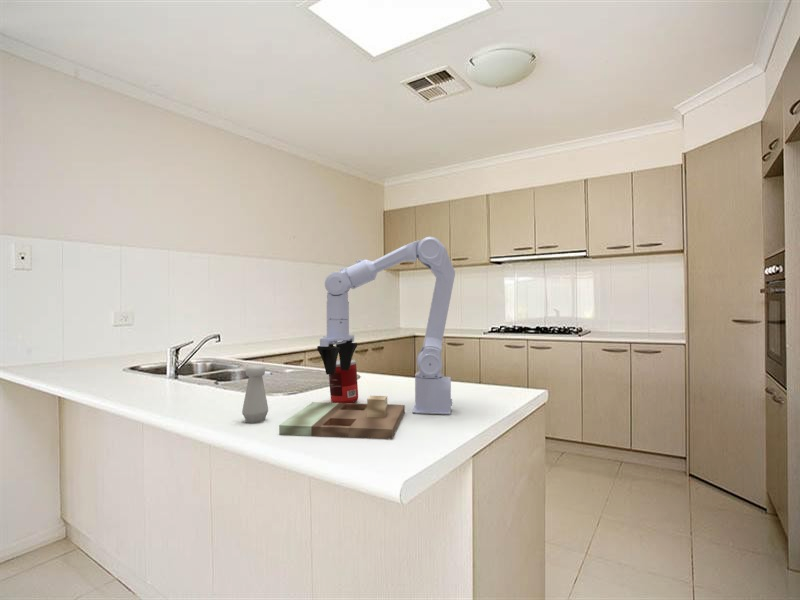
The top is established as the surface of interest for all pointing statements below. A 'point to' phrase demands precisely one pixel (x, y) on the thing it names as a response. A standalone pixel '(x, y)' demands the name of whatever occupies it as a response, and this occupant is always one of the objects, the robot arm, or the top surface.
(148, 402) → the top surface
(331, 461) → the top surface
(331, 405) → the trap deck
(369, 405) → the maple block
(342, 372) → the canned food
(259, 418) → the salt shaker
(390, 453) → the top surface
